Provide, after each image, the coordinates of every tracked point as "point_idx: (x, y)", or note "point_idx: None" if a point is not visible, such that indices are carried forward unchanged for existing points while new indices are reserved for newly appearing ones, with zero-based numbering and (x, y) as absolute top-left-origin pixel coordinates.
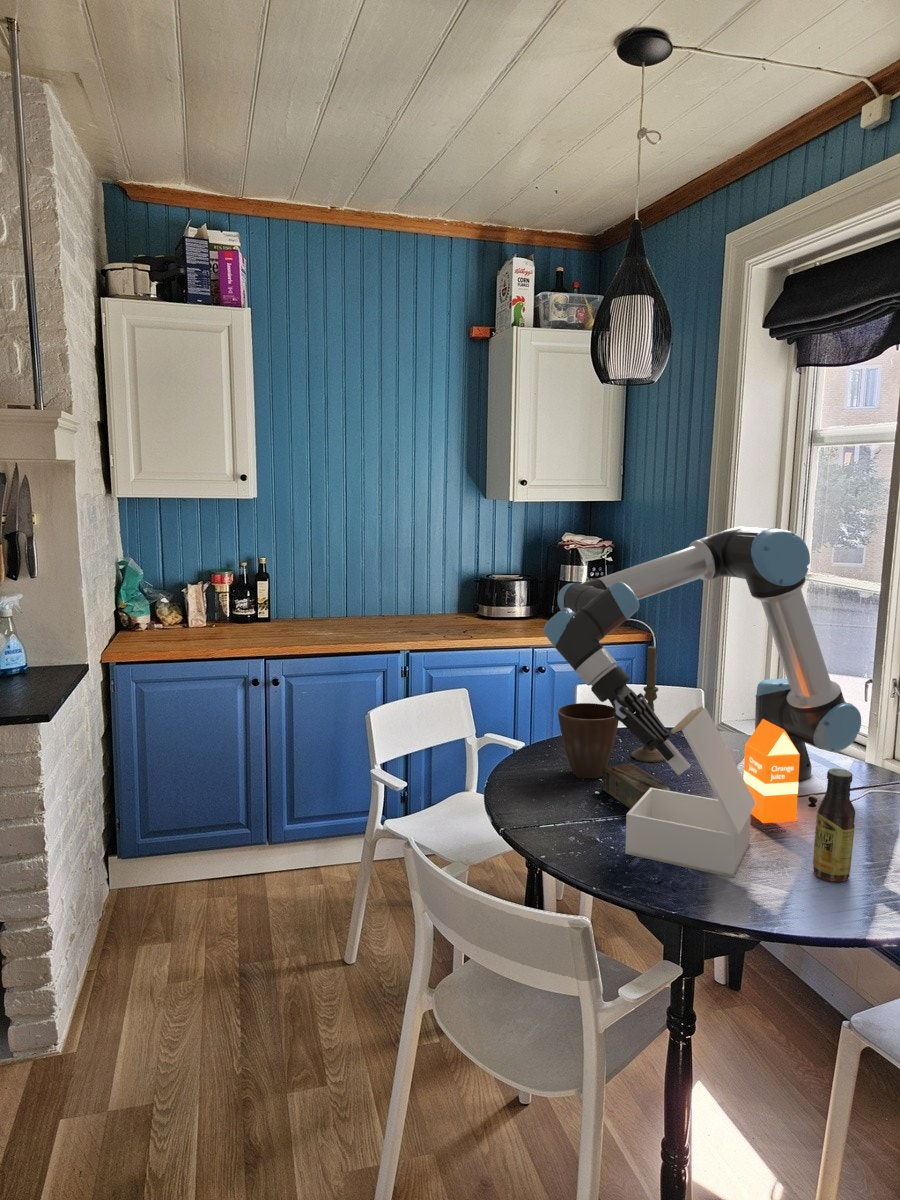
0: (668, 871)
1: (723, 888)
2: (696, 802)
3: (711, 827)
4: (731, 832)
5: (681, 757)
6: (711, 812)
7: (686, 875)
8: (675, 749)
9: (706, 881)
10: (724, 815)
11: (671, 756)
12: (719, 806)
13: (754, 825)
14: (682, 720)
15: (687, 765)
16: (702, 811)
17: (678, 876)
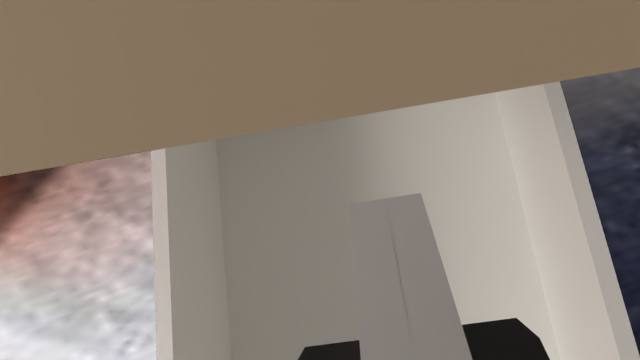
0: (622, 281)
1: (598, 81)
2: (182, 313)
3: (214, 256)
4: (210, 180)
5: (407, 259)
6: (192, 244)
7: (601, 214)
8: (396, 334)
9: (592, 141)
10: (191, 188)
11: (529, 334)
12: (178, 200)
13: (35, 178)
14: (406, 25)
15: (411, 206)
16: (195, 286)
17: (632, 234)
